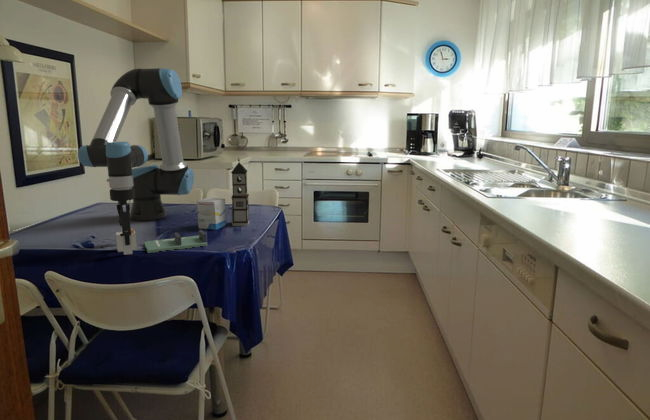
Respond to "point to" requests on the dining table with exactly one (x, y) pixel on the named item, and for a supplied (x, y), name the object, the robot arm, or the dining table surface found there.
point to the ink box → (211, 213)
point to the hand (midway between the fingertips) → (126, 248)
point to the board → (176, 242)
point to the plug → (120, 241)
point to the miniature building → (240, 197)
